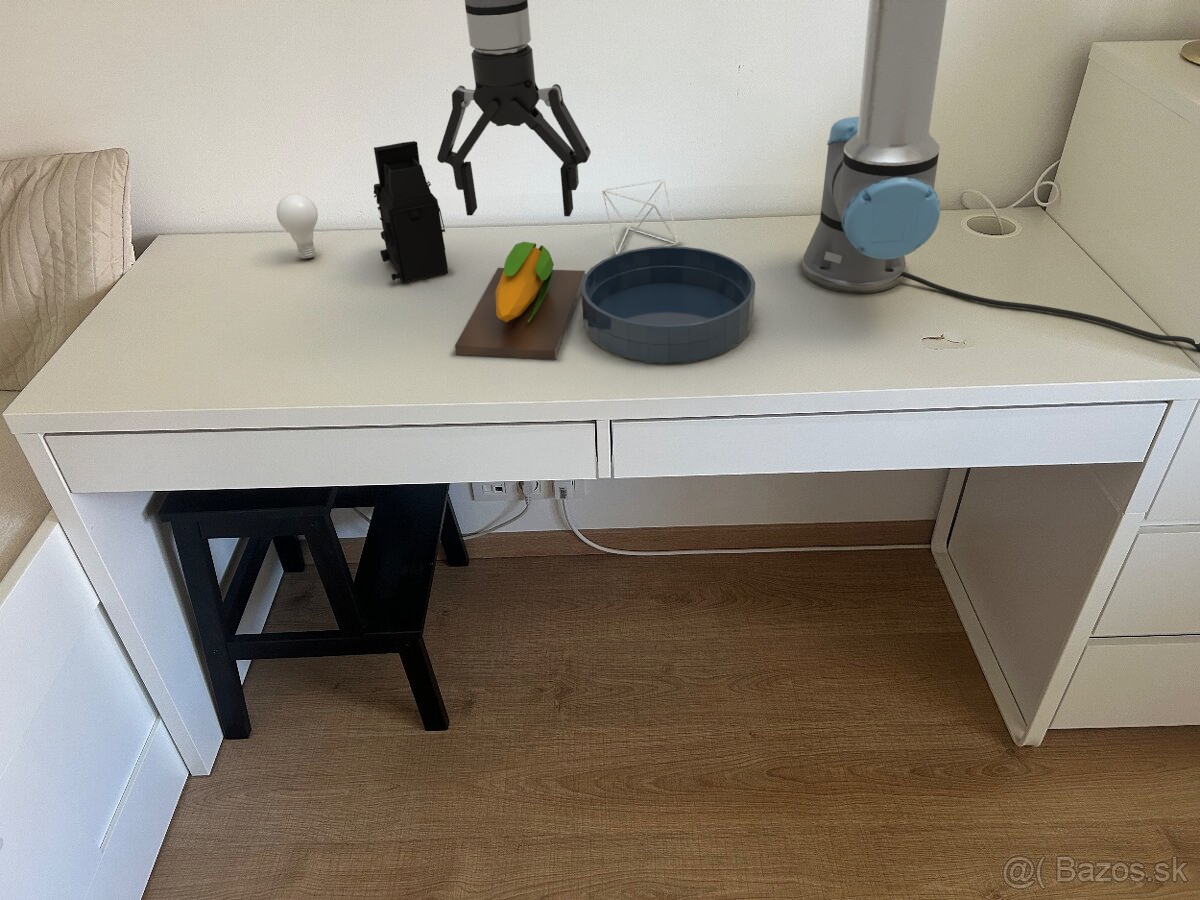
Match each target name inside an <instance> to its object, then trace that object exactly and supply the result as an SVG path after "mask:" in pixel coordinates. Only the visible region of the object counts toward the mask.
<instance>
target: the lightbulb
mask: <svg viewBox="0 0 1200 900" xmlns="http://www.w3.org/2000/svg"><path fill="white" fill-rule="evenodd" d="M318 213H319V212H318V208H317V205H316V204H315V202H314V201H313V200H312V199H311V198H309V197H308V196H306V195H304V194H302V193H289V194H287V195H285V196H283V197H282V198H281V199H280V200H279V202H278V204H277V207H276V218H277V220H278V222H279V224H280V226H281V227H282V228H283V229H284V230H285V231H286V232H287V233H288V234H289V235H290V236H291V238H292V240H293V241H294V243H295V244H296V245H295V246H296V248H297V251H298V255H299V257H300V258H302V259H305V260H310V259H312V258H313V257H315V256H316V254H317V252H316V249H315V245H314V230H315V227H316V225H317V222H318V217H319V215H318Z"/></svg>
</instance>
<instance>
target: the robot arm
mask: <svg viewBox="0 0 1200 900" xmlns="http://www.w3.org/2000/svg"><path fill="white" fill-rule="evenodd" d="M528 1H529V0H464V5H465V6H464V7H465V16H466V24H467V32H468V39H469V46H470V47H472V49H473V50H472V52H471V54H470V55H471V62H472V69H473V77H474V84H475V87H474V89H471V88H470V89H469V88H466V87H465V86H464V85H458V86H457V87H456V88H455V89H454V90H453V91H452V93H451V106H452V107H451V108H452V109H451V112H450V116H449V119H448V121H447V125H446V127H445V131H444V134H443V136H442V140H441V144H440V146H439V150H438V152H437V157H436V159H437V161H438V162H439V163H440V164H448V165H450V166H451V167H452V171H453V177H454V184H455V188H456V190H458V191H463V199H464V205H465V211H466V212H465V213H466V216H473V215H474V213H475V212H476V211H477V209H478V203H477V196H476V189H475V182H474V174H473V168H472V161H465V160H466V158H467V156H468V155H469V154H470V152H471V150H472V149H473V148H474V146H475V144H476V143H477V142H478V140H479V139H480V137H481V136H482V134H483V132H484V131H485V130H486V129H487V127H488V125H489V124H490V122H491V123H492V124H493V125H495V126H496V127H503V126H504V127H505V126H513V127H520V126H521V125H523V124H525V125H526V126H527V127H528V128H529V129H530V130H531V131H533V132H534V133H535V134H536V135H537V136H538V137H539V138H540V139H541V140H542V141H543V142H544V143H545V144H546V145H547V147H548V148H549V149H550V150H551V151H552V152H553V153H554V155H556V157H557V158H558V159H559V160H560V161H561V162H562V165H561V167H560V168H559V170H560V180H561V193H562V194H561V195H562V205H563V217H571V215H572V213H573V210H574V200H573V191H577V189H578V187H579V184H580V180H579V179H580V178H579V166H578V165H580V164H586V163H587V162H588V161H589V158H590V156H591V153H592V151H591V149H590V147H589V145H588V143H587V142H586V140H585V138H584V136H583V134H582V132H581V131H580V129H579V127H578V125H577V123H576V121H575V119H574V118H573V115H571V112H570V111H569V109H568V107H567V105H566V103H565V102H564V97H563V91H562V87H561V86H560V85H559V84H558V83H556V84H555V83H554V84H553V85H552V86H551V87H546V88H545V87H544V88H539V87H538V85H537V82H536V74H535V65H534V55H533V53H534V52H533V48H532V47H531V46H530V45H529V43H530V42H531V41H532V33H531V21H530V12H529V2H528ZM947 2H948V0H868V10H867V20H866V21H867V24H866V33H865V45H864V54H863V55H864V56H863V68H862V78H861V90H860V100H859V112H858V116H852V117H846V118H842V119H839V120H836V122H834V123H833V124H832V126H831V128H830V132H829V138H828V140H827V142H826V143H827V155H826V156H827V157H826V163H825V170H824V171H825V173H824V180H823V188H822V189H823V190H822V198H821V205H820V206H821V207H820V216H819V222H818V223H817V226H816V228H815V230H814V232H813V234H812V237H811V239H810V240H809V243H808V245H807V247H806V249H805V252H804V254H803V260H802V266H801V267H802V269H801V270H802V273H803V274H804V276H805V278H807V279H808V280H809V281H811V282H812V283H813V284H816V285H818V286H820V287H823V288H824V289H829V290H831V291H836V292H840V293H847V294H848V293H849V294H870V293H878V292H883V291H886V290H890V289H892V288H894V287H896V286H897V285H899V284H900V283H901V282H902V281H903V279H904V278H906V279H909V280H912V281H914V282H917V283H919V284H921V285H924V286H926V287H928V288H931V289H934V290H937V291H939V292H943V293H946V294H949V295H952V296H956V297H959V298H962V299H966V300H968V301H969V300H970V301H973V302H978V303H982V304H987V305H992V306H993V305H994V306H999V307H1007V308H1015V309H1016V308H1017V309H1025V310H1031V311H1040V312H1046V313H1052V314H1057V315H1062V316H1068V317H1072V318H1073V317H1074V318H1077V319H1083V320H1087V321H1092V322H1094V323H1095V322H1096V323H1099V324H1103V325H1106V326H1110V327H1114V328H1117V329H1120V330H1123V331H1126V332H1129V333H1132V334H1135V335H1138V336H1142V337H1145V338H1148V339H1152V340H1157V341H1164V342H1179V343H1185V344H1188V345H1191V346H1192V347H1194V348H1195V349H1196V350H1197V352H1199V353H1200V342H1199V344H1195V341H1194V340H1195V339H1194V338H1191V337H1188V336H1180V335H1179V336H1178V335H1164V334H1158V333H1154V332H1150V331H1146V330H1143V329H1141V328H1140V329H1139V328H1136V327H1135V326H1130V325H1127V324H1125V323H1121V322H1118V321H1116V320H1115V321H1114V320H1111V319H1108V318H1104V317H1101V316H1096V315H1092V314H1088V313H1083V312H1078V311H1073V310H1068V309H1063V308H1057V307H1050V306H1046V305H1045V306H1044V305H1038V304H1031V303H1024V302H1015V301H1004V300H999V299H998V300H997V299H992V298H986V297H981V296H977V295H973V294H969V293H965V292H961V291H958V290H955V289H951V288H949V287H946V286H943V285H940V284H938V283H937V284H936V283H934V282H931V281H929V280H927V279H924V278H922V277H920V276H918V275H917V276H916V275H914V274H911V273H909V272H906V264H907V263H906V257H905V256H907V255H909V254H912V253H914V252H915V251H916V250H917V249H919V248H921V246H923V245H925V244H926V243H927V242H928V241H929V240H930V239H931V237H932V236H933V235H934V233H935V231H936V230H937V227H938V225H939V221H940V218H941V217H940V216H941V206H940V203H941V201H940V199H939V195H938V193H937V192H936V190H935V183H936V178H937V177H936V176H937V170H938V161H939V156H940V144H939V143H938V142H937V141H936V139H934V137H932V135H931V134H930V127H931V120H932V113H933V105H934V97H935V91H936V90H935V89H936V85H937V83H936V82H937V75H938V69H939V68H938V67H939V61H940V53H941V48H942V47H941V46H942V39H943V31H944V24H945V17H946V9H947ZM540 100H541V101H543V103H544V104H545V105H546V107H549V108H550V110H551V112H552V115H553V116H554V119H555V120H556V122H557V124H558V125H559V127H560V129H561V131H562V133H563V135H564V136H565V138H566V140H567V141H568V143H569V144H568V143H567V142H566V141H565V140H564V139H563V137H562V136H561V135H560V134H559V133H558V132H557V131H556V130H555V129H554V128H553V127H552V126H551V124H550V123H549V122H548V121H547V119H545V117H544V115H543V113H542V112H541V111H540V109H538V108H537V107H536V106H537V104H538V103H539V101H540ZM472 101H474V103H475V104H476V105H477V107H478V108H479V109H480V110H481V111H482V114H481V115H480V116H479V118H478V120H477V121H476V123H475V125H474V126H473V127H472V129H471V131H470V132H469V133H468V135H467V137H466V138H465V140H464V141H463V143H462V144H461V146H460V147H459V148H458V150H457V151H453V150H454V146H455V143H456V140H457V137H458V135H459V130H460V128H461V125H462V122H463V119H464V115H465V113H466V109H467V108H468V107H469V106H470V105H471V103H472Z"/></svg>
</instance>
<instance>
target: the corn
mask: <svg viewBox="0 0 1200 900" xmlns="http://www.w3.org/2000/svg"><path fill="white" fill-rule="evenodd" d="M554 265H555V263H554V261H553V258H552V256H551V253H550V251H549V250H548V249H547V248H546V247H545V246H544V245H540V246H539V247H537V243H535V242H528V241H522V242H519V243H516V244H514V246H513V248H512V249H511V251H510V252H509V254H508V255H506V258H505V262H504V265H503V268H504V271H503V274H502V276H501V279H500V281H499V284H498V286H497V289H496V291H495V292H496V314H497V317H498V318H499V319H501V320H503V321H505V322H508V321H510V320H512V319H514V318H516V317H518V316H520V315H521V314H522V313H523V312H524V311H525V310H526V308H527V307H528V306H529V305H530V304H531V303H532V301H533V300H534V299H535V297H536V295H537V293H538V292H539V290H540V288H541V286H542V288H541V291H540V294H539V297H538V299H537V302H536V305H535V308H534V310H533V313H532V315H531V317H530V319H529V320H528V322H529V321H530V320H531V319H532V318H533V316H534V315H535V314H536V313H537V311H538V309H539V307H540V305H541V303H542V301H543V299H544V297H545V296H546V294H547V292H548V290H549V288H550V283H551V278H552V273H553V272H552V270H554Z"/></svg>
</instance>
